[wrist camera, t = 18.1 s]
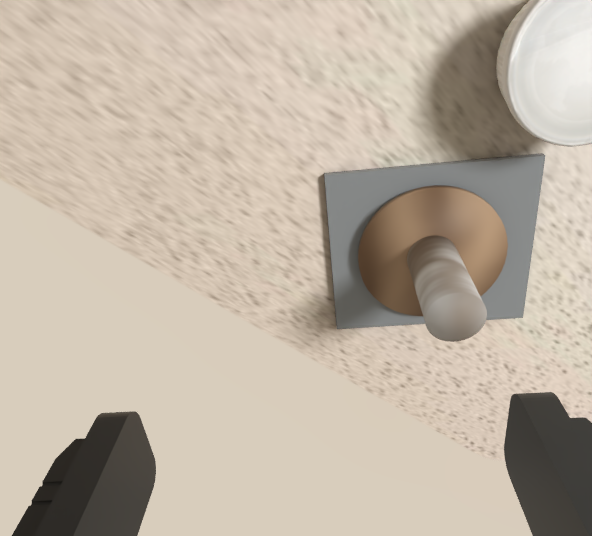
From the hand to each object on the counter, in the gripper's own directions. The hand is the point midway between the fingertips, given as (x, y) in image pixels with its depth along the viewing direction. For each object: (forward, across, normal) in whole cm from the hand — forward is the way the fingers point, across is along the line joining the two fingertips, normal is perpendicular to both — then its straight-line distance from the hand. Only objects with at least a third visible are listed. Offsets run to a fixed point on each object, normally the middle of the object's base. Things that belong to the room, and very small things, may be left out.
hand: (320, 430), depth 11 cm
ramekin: (+33, -18, -3) cm, 38 cm away
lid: (+32, -9, +13) cm, 36 cm away
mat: (+33, -9, +13) cm, 37 cm away
